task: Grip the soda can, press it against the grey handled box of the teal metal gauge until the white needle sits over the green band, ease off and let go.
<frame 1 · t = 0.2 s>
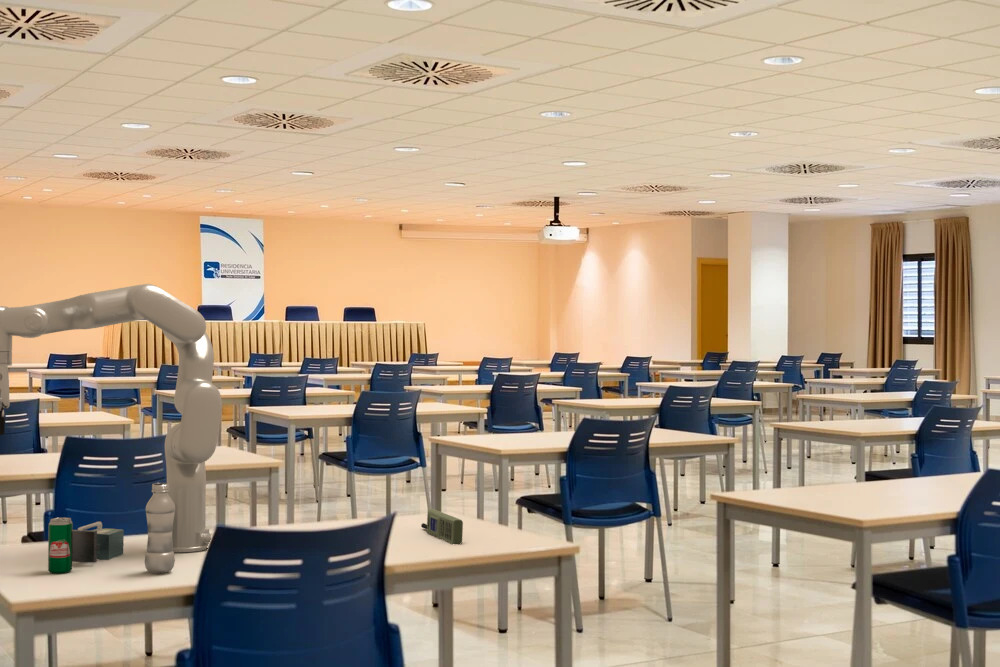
plastic bottle: (159, 573, 251), on the table
soda can: (60, 573, 251), on the table
handheld radio: (439, 538, 300), on the table
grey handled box: (89, 541, 263), point 5 cm above the table, slide at 0.0 cm
gauge housing: (79, 565, 259), on the table
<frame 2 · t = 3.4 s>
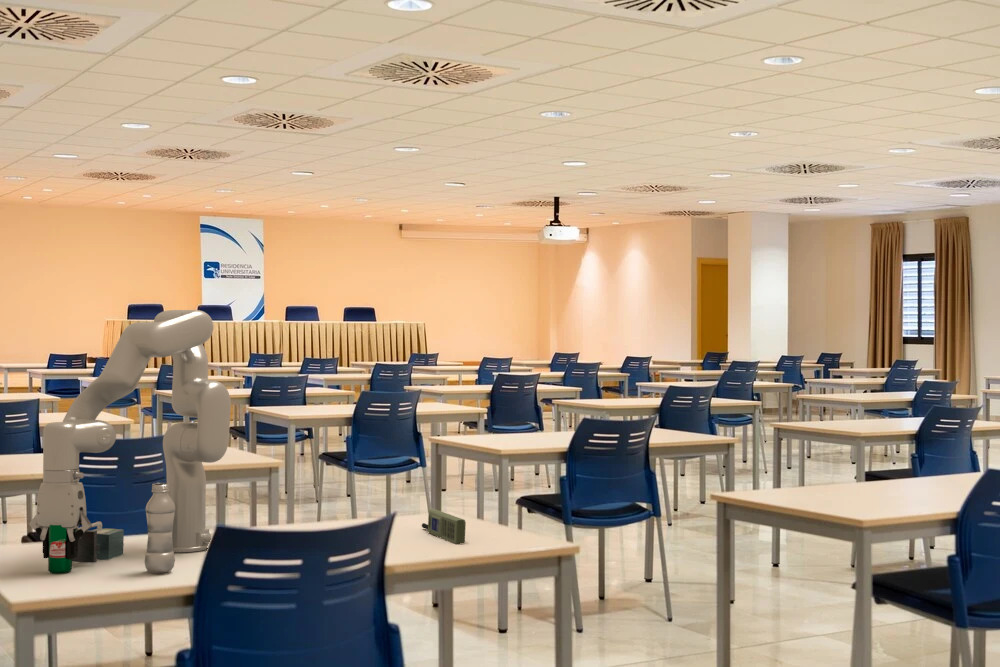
hand: (60, 556, 251), 3 cm above the table, tool pointing down, fingers closed on soda can, 5 cm apart
soda can: (60, 573, 251), on the table, touching gripper
everything else where it was.
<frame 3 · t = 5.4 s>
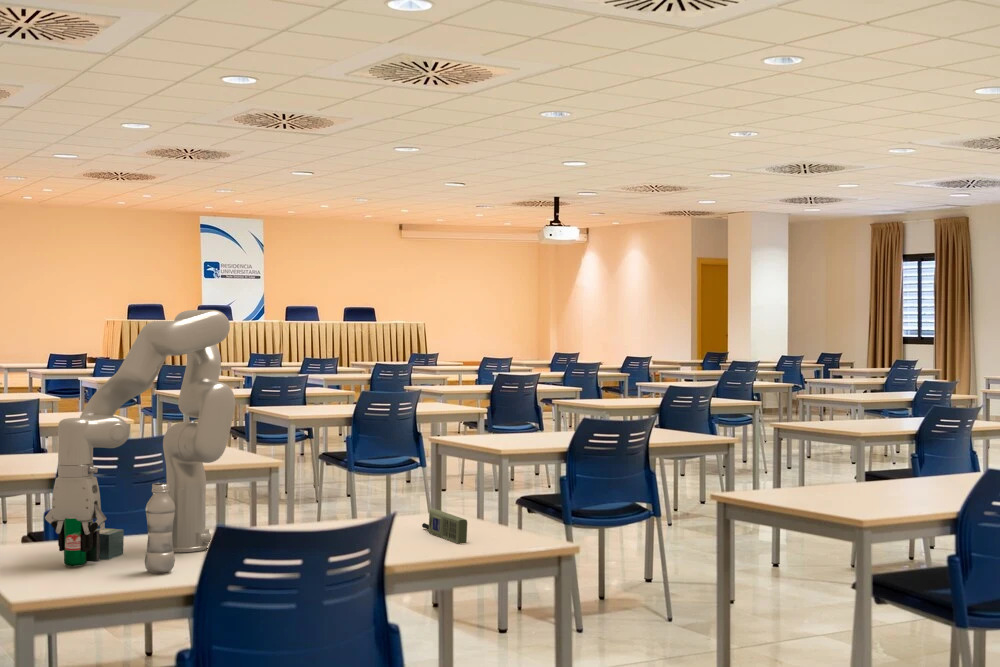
hand: (75, 549, 257), 4 cm above the table, tool pointing down, fingers closed on soda can, 5 cm apart
soda can: (75, 565, 257), on the table, touching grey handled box, gripper
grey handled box: (92, 540, 264), point 5 cm above the table, slide at 1.2 cm, touching soda can
everything else where it was.
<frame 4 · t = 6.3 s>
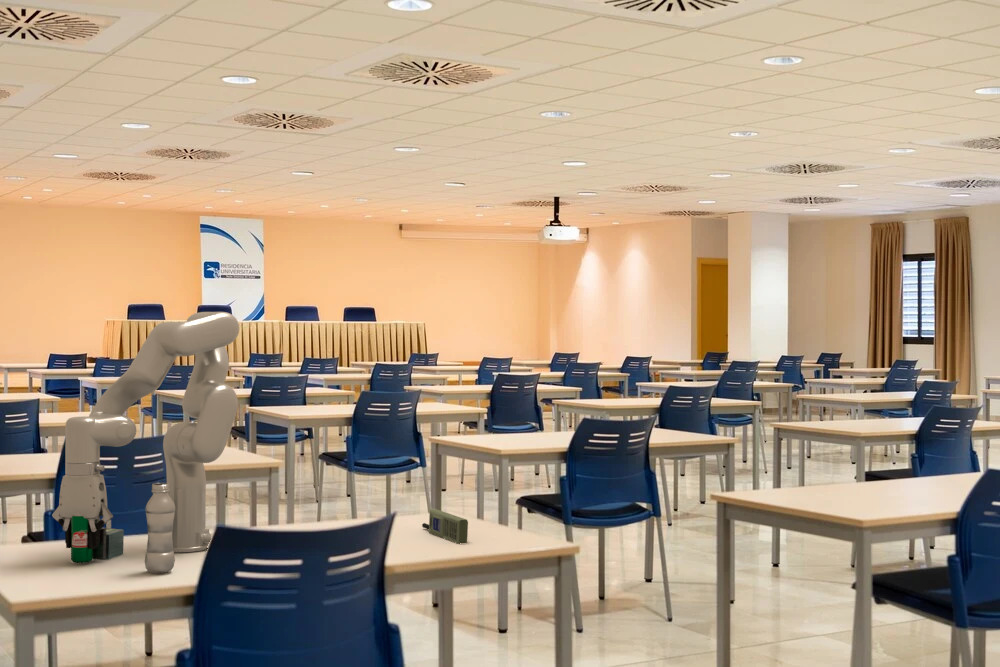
hand: (82, 546, 260), 4 cm above the table, tool pointing down, fingers closed on soda can, 5 cm apart
soda can: (82, 562, 260), on the table, touching gripper
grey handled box: (98, 538, 267), point 5 cm above the table, slide at 4.2 cm
everything else where it was.
when the fingers open (4 cm above the table, at t = 7.5 s): soda can stays where it is, on the table.
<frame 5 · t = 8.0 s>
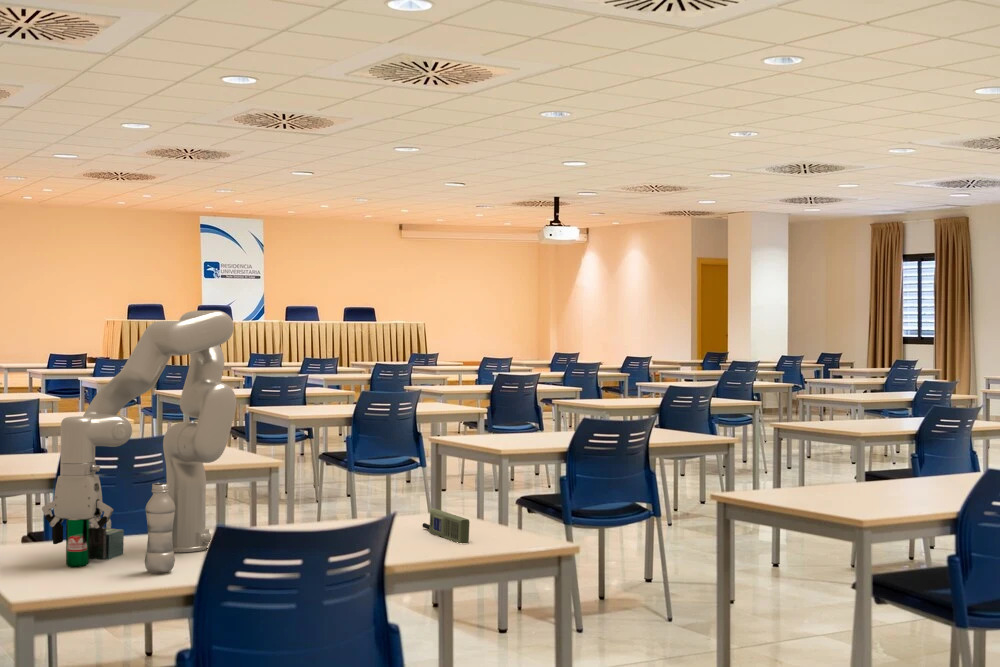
hand: (77, 543, 258), 5 cm above the table, tool pointing down, fingers open, 9 cm apart
soda can: (77, 566, 258), on the table
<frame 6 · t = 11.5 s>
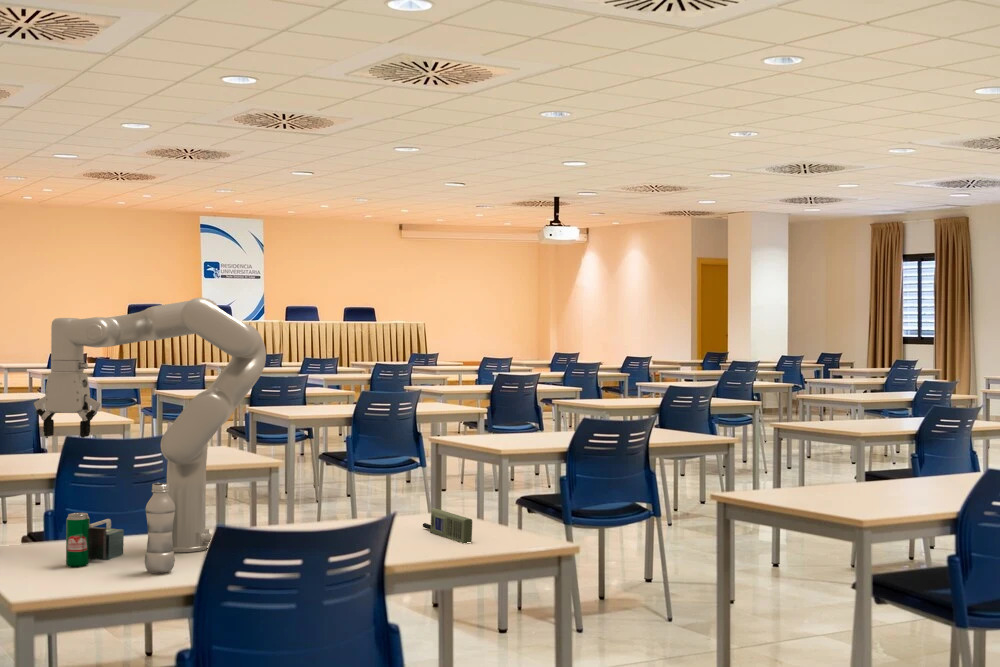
hand: (66, 436, 277), 28 cm above the table, tool pointing down, fingers open, 9 cm apart
at the end: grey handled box slide at 4.2 cm; the gripper is holding nothing; soda can tilted 0° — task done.
